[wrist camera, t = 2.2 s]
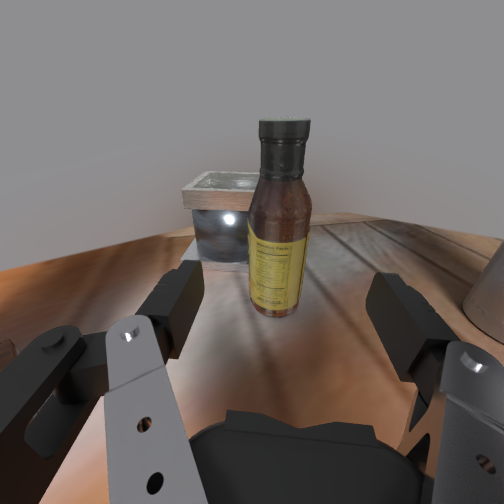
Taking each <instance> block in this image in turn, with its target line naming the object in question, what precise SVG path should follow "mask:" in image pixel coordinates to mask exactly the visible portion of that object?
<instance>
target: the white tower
mask: <svg viewBox="0 0 504 504" xmlns="http://www.w3.org/2000/svg"><path fill="white" fill-rule="evenodd" d="M20 353H21V352H20V351H19V350H18V348H17V347H16V346H15V345H14V344H13V342H12V341H11V340H10V339H8V340H6V341H4V342H2V343H0V372H1V371H2V370H3V369H4V368H5V367H6V366H7V365H8V364H9V363H10V362H12V361H13V360H14V359H15V358H16V357H17V356H18V355H19V354H20ZM37 414H38V412H36V414H35V415H34V416H33V418H32V419H31V420H30V422H29V424H30V423H31V422H32V420H33V419H34V418H35V416H36V415H37ZM29 424H28V425H27V427H28V426H29Z"/></svg>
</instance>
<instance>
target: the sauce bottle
mask: <svg viewBox="0 0 504 504" xmlns="http://www.w3.org/2000/svg"><path fill="white" fill-rule="evenodd" d="M310 122H311V120H310V119H309V118H263V119H260V121H259V138H260V141H261V168H260V177H259V180H258V183H257V186H256V189H255V192H254V195H253V198H252V201H251V204H250V207H249V210H248V214H247V220H248V259H249V293H250V299H251V301H252V304H253V306H254V307H255V308H256V309H257V311H259V312H260V313H262V314H264V315H267V316H272V317H283V316H286V315H288V314H290V313H292V312H293V311H294V310H295V309H296V308H297V306H298V301H299V298H300V296H301V290H302V283H303V276H304V269H305V262H306V255H307V247H308V240H309V233H310V226H309V224H310V217H311V210H312V203H311V198H310V195H309V194H308V191H307V189H306V187H305V185H304V182H303V181H302V176H303V173H304V169H303V164H304V155H305V147H306V141H307V140H308V137H309V131H310Z"/></svg>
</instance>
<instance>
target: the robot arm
mask: <svg viewBox="0 0 504 504" xmlns="http://www.w3.org/2000/svg"><path fill="white" fill-rule="evenodd" d="M203 296H204V278H203V269H202V263H201V261H200V260H183V262H182V263H181V265H180V266H179V268H178V269H172V270H170V271H169V272H168V273H166V274H165V275H163V277H162V278H161V279H160V281H159V282H158V285H156V286H155V287H154V289H153V291H152V292H151V293H150V294H149V296H148V297H147V298H146V300H145V301H144V303H143V304H142V305H141V307H140V308H139V309H138V311H137V312H136V313H135V315H132V316H128V317H125V318H123V319H121V320H119V321H118V322H116V323H115V324H114V325H112V326H111V327H110V329H109V330H108V331H106V332H100V333H94V334H89V335H83V336H82V334H81V332H80V331H79V329H78V328H77V327H75V326H61V327H57V328H54V329H51V330H49V331H47V332H45V333H43V334H42V335H40V336H39V337H37V338H36V339H35V340H33V341H32V342H31V343H30V344H29V345H28V346H27V347H26V348H25V349H24V350H23V351H22V352H21V353H20V354H19V355H18V356H17V357H16V358H15V359H14V360H13V361H12V362H10V363H9V364H8V365H7V366H6V367H5V368H4V369H3V370H2V371H1V372H0V504H39V502H40V500H41V499H42V497H43V495H44V493H45V492H46V490H47V488H48V487H49V485H50V483H51V481H52V480H53V478H54V476H55V474H56V473H57V471H58V469H59V468H60V466H61V464H62V462H63V461H64V459H65V457H66V455H67V454H68V452H69V450H70V449H71V447H72V445H73V443H74V442H75V440H76V438H77V436H78V435H79V433H80V431H81V430H82V428H83V426H84V424H85V423H86V421H87V419H88V417H89V416H90V414H91V412H92V410H93V409H94V407H95V405H96V404H97V402H98V400H99V398H100V397H101V396H104V412H105V430H106V448H107V465H108V483H109V501H110V504H504V367H503V365H502V364H501V363H500V362H499V361H498V360H497V359H496V358H495V357H493V356H492V355H491V354H489V353H488V352H486V351H485V350H483V349H481V348H479V347H477V346H475V345H473V344H470V343H467V342H462V341H461V340H460V339H459V338H458V336H457V335H456V334H455V333H454V332H453V331H452V329H451V328H450V327H449V326H448V325H447V324H446V322H445V321H444V320H443V319H442V318H441V317H440V315H439V314H438V313H436V312H435V310H434V308H433V307H432V306H431V305H429V303H428V301H427V300H426V299H425V298H424V297H423V296H422V294H421V293H419V292H418V291H416V290H415V289H413V288H412V287H411V286H408V285H406V284H405V282H404V281H403V280H402V279H401V277H400V276H399V275H398V274H396V273H381V272H378V273H376V274H375V276H374V278H373V281H372V284H371V287H370V290H369V292H368V295H367V298H366V310H367V313H368V315H369V317H370V319H371V321H372V323H373V325H374V327H375V329H376V332H377V334H378V336H379V338H380V340H381V342H382V344H383V346H384V348H385V350H386V352H387V354H388V356H389V358H390V360H391V362H392V364H393V366H394V369H395V371H396V373H397V375H398V377H399V379H400V381H402V382H413V383H415V384H416V386H417V390H416V391H415V393H414V397H413V400H412V404H411V408H410V412H409V415H408V419H407V423H406V427H405V430H404V434H403V437H402V440H401V442H400V444H399V446H398V448H397V450H395V449H393V448H392V447H390V446H389V445H387V444H385V443H383V442H381V441H379V440H377V439H376V436H375V432H374V429H373V426H371V425H361V424H352V423H343V422H332V423H327V424H322V425H317V426H312V427H307V428H302V429H299V428H295V427H293V426H290V425H288V424H285V423H283V422H280V421H278V420H276V419H273V418H271V417H268V416H266V415H264V414H260V413H251V412H242V411H232V410H227V413H226V419H225V421H223V422H219V423H216V424H213V425H210V426H208V427H206V428H204V429H202V430H201V431H199V432H198V433H196V434H195V435H194V436H192V437H191V438H190V439H189V440H188V438H187V434H186V431H185V428H184V425H183V422H182V418H181V415H180V412H179V409H178V406H177V402H176V399H175V396H174V393H173V390H172V386H171V383H170V380H169V377H168V374H167V370H166V367H165V365H166V363H167V361H168V359H169V358H170V359H178V358H179V356H180V354H181V351H182V349H183V346H184V344H185V341H186V339H187V336H188V334H189V332H190V329H191V327H192V324H193V322H194V319H195V317H196V314H197V312H198V310H199V307H200V305H201V302H202V300H203ZM462 306H463V310H464V312H465V314H466V315H467V317H468V318H469V319H470V320H471V321H472V322H473V323H474V324H475V325H476V326H477V327H478V328H480V329H481V330H483V331H484V332H485V333H487V334H488V335H490V336H491V337H493V338H495V339H496V340H498V341H499V342H501V343H503V344H504V240H503V242H502V243H501V245H500V246H499V248H498V249H497V251H496V252H495V254H494V255H493V257H492V258H491V260H490V261H489V263H488V265H487V266H486V268H485V269H484V271H483V272H482V274H481V275H480V277H479V278H478V280H477V281H476V283H475V284H474V286H473V287H472V289H471V290H470V292H469V293H468V295H467V296H466V298H465V299H464V301H463V304H462ZM51 393H53V394H52V395H51V397H50V398H49V399H48V401H47V402H46V403H45V405H44V406H43V407H42V409H41V410H40V411H39V413H38V414H37V415H36V416H35V418H34V419H33V420H32V422H31V423H30V424H29V422H30V420H31V419H32V418H33V416H34V415H35V414H36V412H37V411H38V410H39V408H40V407H41V406H42V405H43V403H44V402H45V401H46V399H47V398H48V397H49V395H50V394H51ZM28 424H29V426H28V427H27V425H28Z"/></svg>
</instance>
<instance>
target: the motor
mask: <svg viewBox="0 0 504 504" xmlns="http://www.w3.org/2000/svg"><path fill="white" fill-rule="evenodd" d="M259 177H260V173H251V172H250V173H249V172H214V171H205V172H204V173H203V174H201V175H200V176H199V177H197V178H196V179H195V180H193V181H192V182H191V183H190V184H188V185H187V186H185V187H184V188H183V189H181V191H182V198H183V205H184V209H192V215H193V223H194V230H195V239H194V240H193V242H192V243H191V245H190V246H189V248H188V249H187V251H186V252H185V254H184V255H183V257H182V258H181V260H180V263H182V262H183V260H200V261H201V263H202V269H203V270H215V271H232V272H249V259H248V220H247V214H248V210H249V207H250V204H251V201H252V198H253V195H254V192H255V189H256V186H257V183H258V180H259Z"/></svg>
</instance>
